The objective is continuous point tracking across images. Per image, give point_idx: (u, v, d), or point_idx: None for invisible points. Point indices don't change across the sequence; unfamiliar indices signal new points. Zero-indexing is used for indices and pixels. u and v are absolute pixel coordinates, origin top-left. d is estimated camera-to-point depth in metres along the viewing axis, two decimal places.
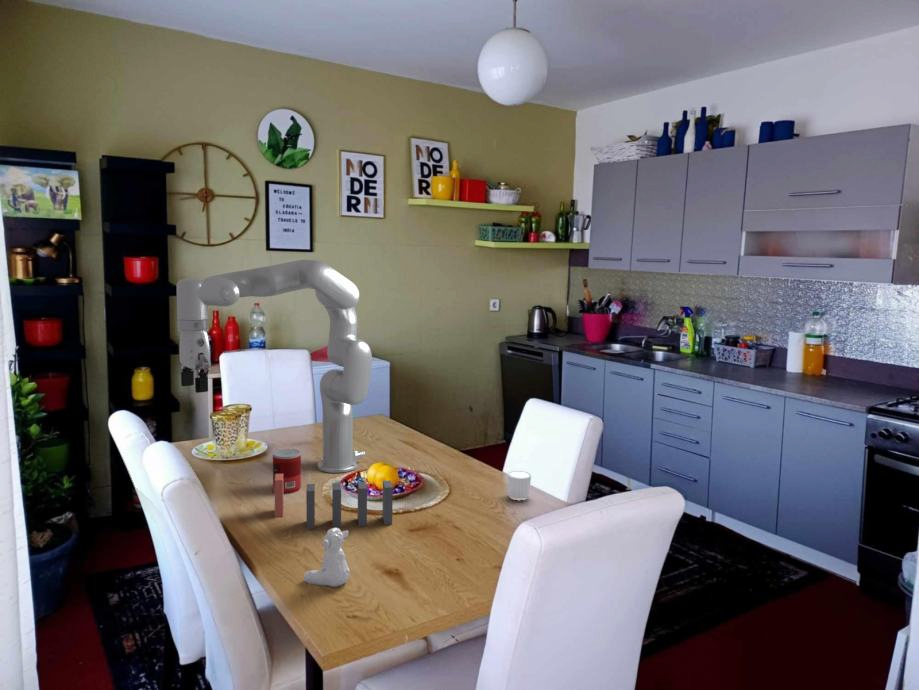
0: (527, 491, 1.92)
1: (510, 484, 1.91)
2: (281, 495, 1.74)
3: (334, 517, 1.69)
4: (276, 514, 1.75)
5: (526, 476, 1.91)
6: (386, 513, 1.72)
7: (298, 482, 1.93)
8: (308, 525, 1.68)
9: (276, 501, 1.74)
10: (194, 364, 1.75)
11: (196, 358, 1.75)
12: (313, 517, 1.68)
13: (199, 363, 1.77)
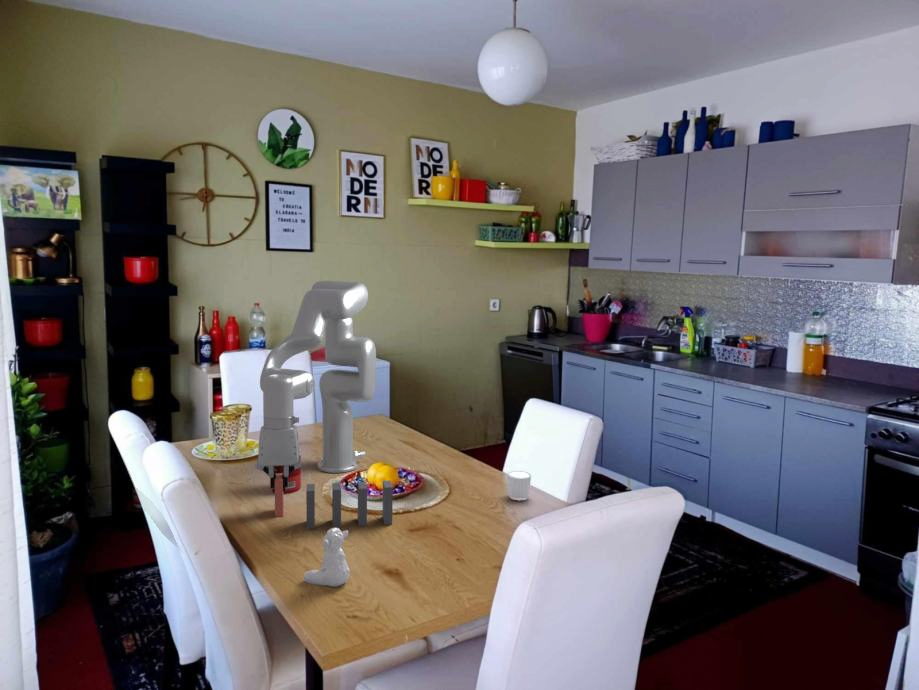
0: (527, 491, 1.92)
1: (510, 484, 1.91)
2: (281, 495, 1.74)
3: (334, 517, 1.69)
4: (276, 514, 1.75)
5: (526, 476, 1.91)
6: (386, 513, 1.72)
7: (298, 482, 1.93)
8: (308, 525, 1.68)
9: (276, 501, 1.74)
10: (297, 459, 1.74)
11: (298, 452, 1.75)
12: (313, 517, 1.68)
13: None
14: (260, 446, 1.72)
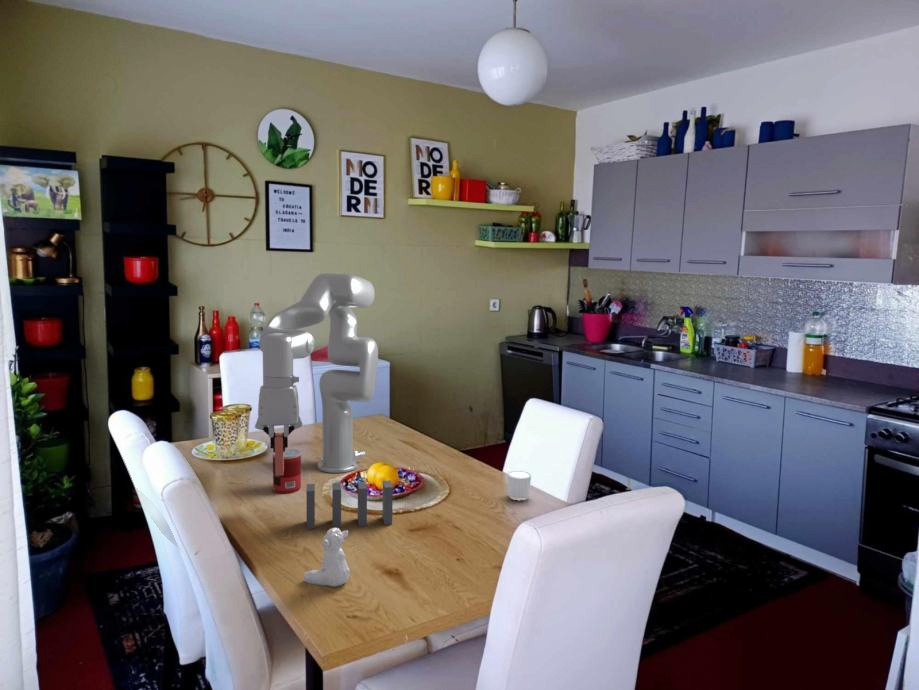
0: (527, 491, 1.92)
1: (510, 484, 1.91)
2: (281, 453, 1.73)
3: (334, 517, 1.69)
4: (276, 473, 1.74)
5: (526, 476, 1.91)
6: (386, 513, 1.72)
7: (298, 482, 1.93)
8: (308, 525, 1.68)
9: (276, 460, 1.73)
10: (297, 418, 1.73)
11: (298, 412, 1.73)
12: (313, 517, 1.68)
13: None
14: (260, 405, 1.70)
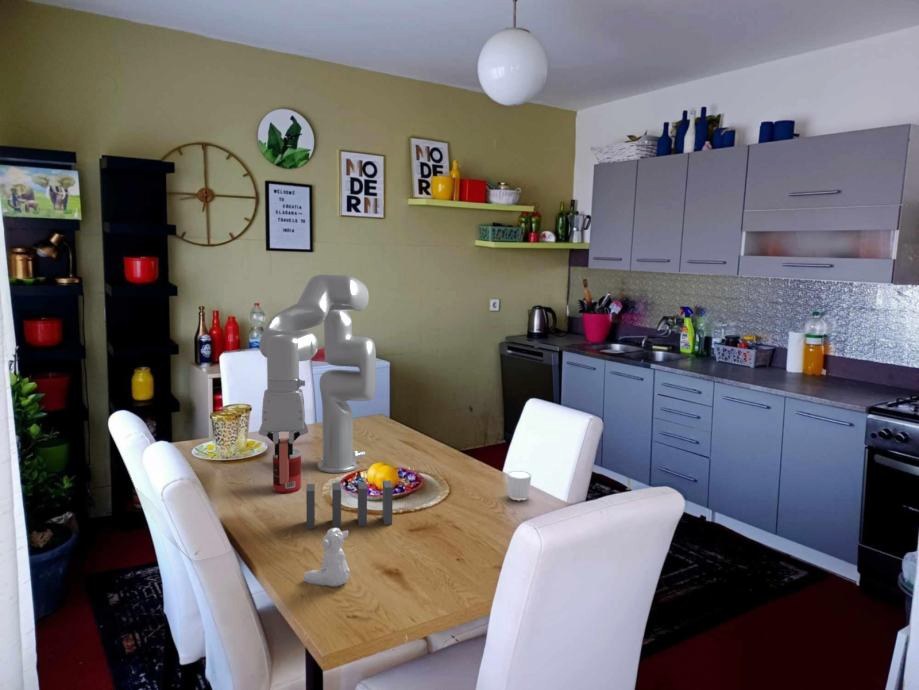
0: (527, 491, 1.92)
1: (510, 484, 1.91)
2: (286, 460, 1.65)
3: (334, 517, 1.69)
4: (281, 480, 1.65)
5: (526, 476, 1.91)
6: (386, 513, 1.72)
7: (298, 482, 1.93)
8: (308, 525, 1.68)
9: (281, 467, 1.65)
10: (303, 424, 1.65)
11: (304, 417, 1.65)
12: (313, 517, 1.68)
13: None
14: (264, 410, 1.62)
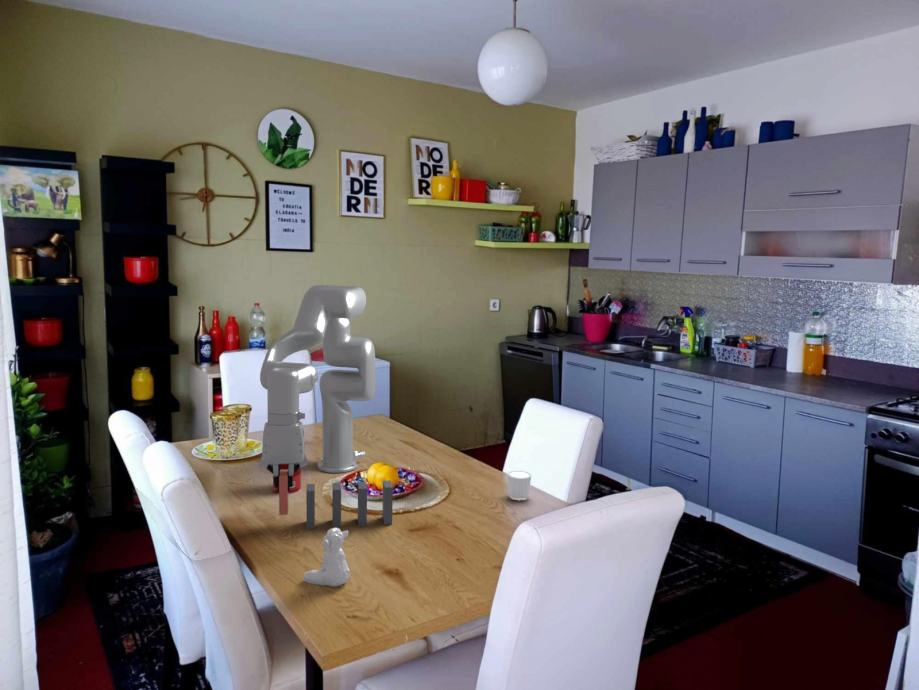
0: (527, 491, 1.92)
1: (510, 484, 1.91)
2: (286, 492, 1.65)
3: (334, 517, 1.69)
4: (280, 512, 1.66)
5: (526, 476, 1.91)
6: (386, 513, 1.72)
7: (298, 482, 1.93)
8: (308, 525, 1.68)
9: (281, 498, 1.65)
10: (303, 457, 1.66)
11: (304, 450, 1.66)
12: (313, 517, 1.68)
13: None
14: (264, 443, 1.63)
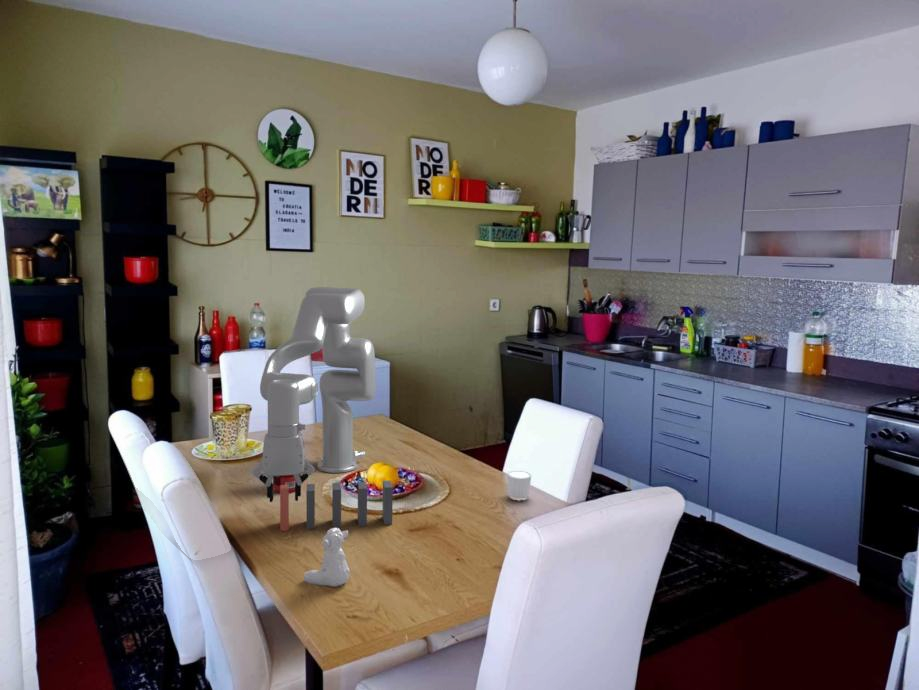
0: (527, 491, 1.92)
1: (510, 484, 1.91)
2: (287, 508, 1.66)
3: (334, 517, 1.69)
4: (282, 528, 1.67)
5: (526, 476, 1.91)
6: (386, 513, 1.72)
7: None
8: (308, 525, 1.68)
9: (282, 514, 1.66)
10: (303, 468, 1.66)
11: (304, 461, 1.66)
12: (313, 517, 1.68)
13: None
14: (264, 455, 1.63)
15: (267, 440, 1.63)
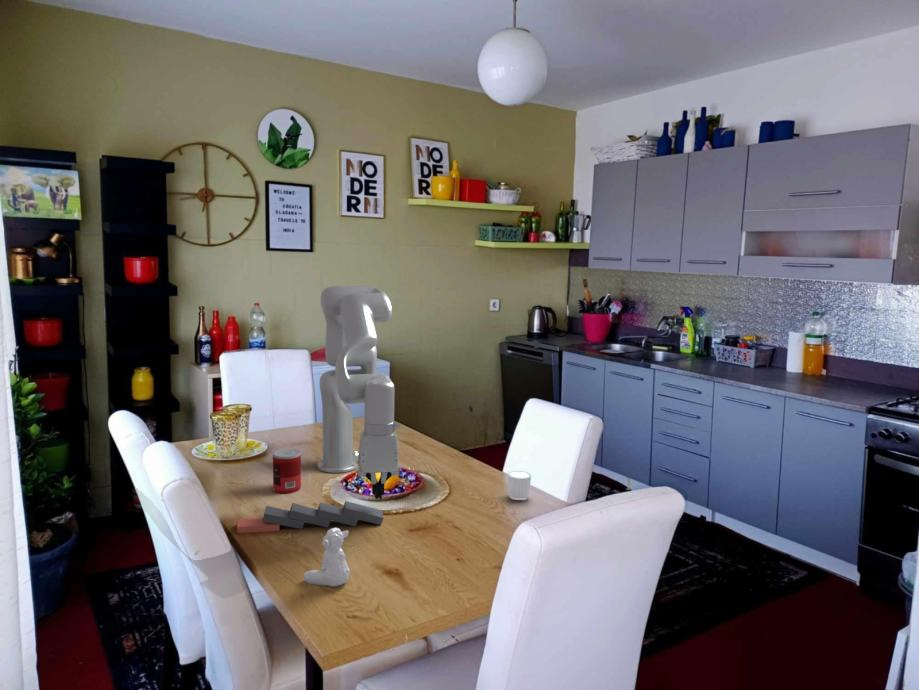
0: (527, 491, 1.92)
1: (510, 484, 1.91)
2: (254, 527, 1.65)
3: (317, 523, 1.68)
4: (276, 530, 1.67)
5: (526, 476, 1.91)
6: (370, 520, 1.71)
7: (298, 482, 1.93)
8: (298, 526, 1.68)
9: (261, 531, 1.66)
10: (398, 465, 1.71)
11: (398, 459, 1.72)
12: (292, 520, 1.67)
13: None
14: (361, 452, 1.68)
15: (364, 438, 1.68)
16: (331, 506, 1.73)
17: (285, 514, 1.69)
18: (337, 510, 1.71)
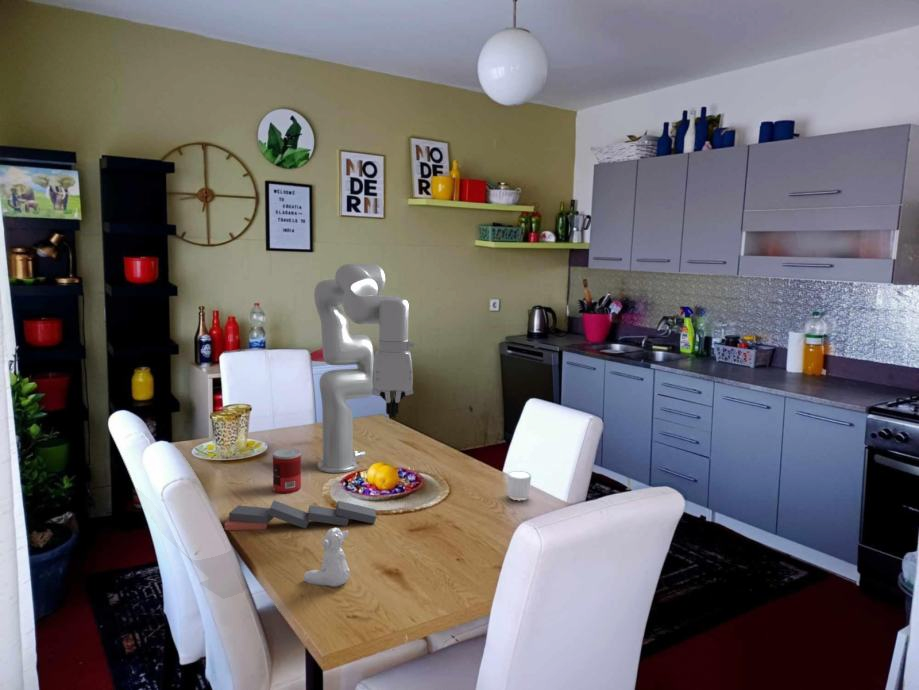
0: (527, 491, 1.92)
1: (510, 484, 1.91)
2: (242, 525, 1.66)
3: (295, 523, 1.68)
4: None
5: (526, 476, 1.91)
6: (363, 519, 1.72)
7: (298, 482, 1.93)
8: (263, 521, 1.67)
9: None
10: (412, 384, 1.72)
11: (412, 378, 1.72)
12: (255, 516, 1.67)
13: None
14: (376, 370, 1.69)
15: (379, 356, 1.69)
16: (321, 508, 1.73)
17: (252, 511, 1.69)
18: (327, 512, 1.71)
